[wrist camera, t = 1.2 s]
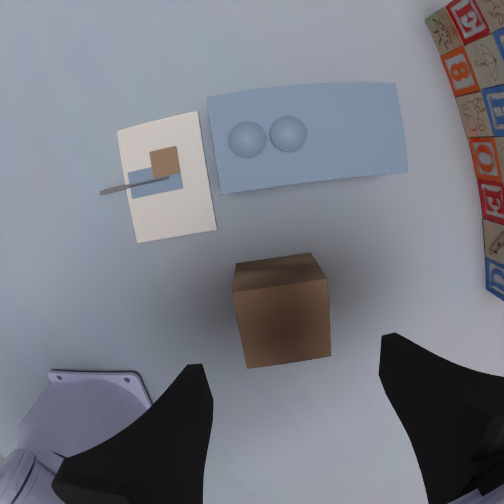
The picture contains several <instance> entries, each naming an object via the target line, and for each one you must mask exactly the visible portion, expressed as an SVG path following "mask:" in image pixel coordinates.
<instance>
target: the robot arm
mask: <svg viewBox="0 0 504 504" xmlns="http://www.w3.org/2000/svg"><path fill="white" fill-rule="evenodd" d="M47 375H48V378H49V380H50V381H51V383H50V384H49V385H48V387H47V388H46V389H45V390H44V392H43V393H42V394H41V396H40V397H39V398H38V400H37V401H36V402H35V404H34V405H33V406H32V408H31V409H30V410H29V412H28V413H27V415H26V416H25V417H24V419H23V420H22V422H21V424H20V427H19V431H18V448H19V449H15V450H14V451H13V452H12V453H11V454H10V455H9V456H8V457H7V458H6V459H5V461H4V462H3V463H2V465H1V466H0V504H203V478H204V467H205V461H206V455H207V450H208V445H209V439H210V434H211V428H212V422H213V397H212V394H211V391H210V388H209V385H208V381H207V378H206V375H205V372H204V368H203V365H202V364H190V365H187V366H186V367H185V368H184V369H183V371H182V372H181V373H180V374H179V375H178V377H177V378H176V379H175V380H174V381H173V383H172V384H171V385H170V386H169V387H168V389H167V390H166V391H165V392H164V393H163V394H162V395H161V397H160V398H159V399H158V400H157V401H156V402H155V403H154V404H153V405H152V404H151V402H150V400H149V397H148V395H147V393H146V391H145V388H144V386H143V384H142V382H141V379H140V377H139V376H138V375H137V374H136V373H133V372H121V373H110V372H70V371H52V370H51V371H49V372H48V373H47ZM379 377H380V379H381V382H382V385H383V388H384V390H385V393H386V395H387V397H388V399H389V400H390V402H391V404H392V406H393V408H394V410H395V411H396V413H397V415H398V417H399V419H400V421H401V422H402V424H403V426H404V428H405V430H406V432H407V434H408V436H409V438H410V441H411V443H412V446H413V449H414V452H415V454H416V457H417V460H418V464H419V467H420V470H421V473H422V477H423V481H424V485H425V489H426V493H427V498H428V503H429V504H504V377H501V376H495V375H490V374H486V373H482V372H478V371H475V370H471V369H469V368H466V367H463V366H460V365H457V364H455V363H452V362H450V361H448V360H446V359H444V358H442V357H439V356H437V355H435V354H434V353H432V352H430V351H428V350H426V349H424V348H422V347H421V346H419V345H417V344H415V343H414V342H412V341H410V340H408V339H407V338H405V337H403V336H401V335H399V334H397V333H391V334H387V335H383V336H382V339H381V353H380V365H379ZM127 378H128V379H129V380H128V379H127Z"/></svg>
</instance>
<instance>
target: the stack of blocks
mask: <svg viewBox="0 0 504 504" xmlns="http://www.w3.org/2000/svg"><path fill="white" fill-rule="evenodd" d="M425 23H426V25H427V27H428V29H429V31H430V33H431V35H432V37H433V40H434V42H435V44H436V46H437V49H438V51H439V53H440V56H441V60H442V63H443V65H444V68H445V70H446V73H447V76H448V78H449V81H450V84H451V87H452V90H453V93H454V95H455V98H456V102H457V105H458V109H459V112H460V115H461V119H462V122H463V126H464V129H465V133H466V136H467V138H468V140H469V146H470V148H471V153H472V157H473V162H474V167H475V172H476V177H477V179H478V186H479V193H480V199H481V206H482V214H483V218H484V219H483V229H484V241H485V255H486V288H487V290H488V291H489V292H491V293H492V294H494V295H496V296H497V297H498V298H500V299H501V300H503V301H504V0H453V1H452V2H450V3H449V4H448V5H447V6H446V7H443V8H441V9H440V10H438V11H437V12H435V13H434V14H433V15H431V16H430V17H429V18H427V19H426V20H425Z"/></svg>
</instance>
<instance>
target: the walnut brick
mask: <svg viewBox="0 0 504 504" xmlns="http://www.w3.org/2000/svg"><path fill="white" fill-rule="evenodd" d="M232 294H233V300H234V305H235V310H236V315H237V320H238V325H239V330H240V335H241V340H242V345H243V350H244V355H245V360H246V365H247V369H249V368H257V367H265V366H272V365H279V364H286V363H293V362H299V361H305V360H311V359H317V358H322V357H328V356H331V338H330V315H329V297H328V281H327V277H326V276H325V274H324V273H323V271H322V270H321V268H320V266H319V265H318V263H317V262H316V260H315V259H314V257H313V256H312V254H311V253H304V254H297V255H291V256H284V257H277V258H270V259H264V260H257V261H250V262H243V263H236V269H235V276H234V283H233V290H232Z"/></svg>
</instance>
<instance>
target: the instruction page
mask: <svg viewBox="0 0 504 504" xmlns="http://www.w3.org/2000/svg"><path fill="white" fill-rule="evenodd" d="M117 133H118V141H119V148H120V155H121V161H122V167H123V173H124V179H125V185H123V186H119V187H115V188H111V189H107V190H103V191H100V195H103V194H107V193H111V192H115V191H119V190H123V189H126V190H127V195H128V201H129V206H130V211H131V216H132V220H133V225H134V230H135V234H136V238H137V243H141V242H147V241H153V240H158V239H164V238H170V237H176V236H182V235H188V234H194V233H201V232H207V231H213V230H217V225H216V220H215V214H214V208H213V202H212V197H211V191H210V185H209V179H208V173H207V167H206V161H205V154H204V148H203V142H202V135H201V129H200V122H199V116H198V111H194V112H190V113H185V114H180V115H176V116H172V117H167V118H163V119H159V120H155V121H151V122H147V123H144V124H140V125H136V126H133V127H129V128H126V129H122V130H119V131H117Z"/></svg>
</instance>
